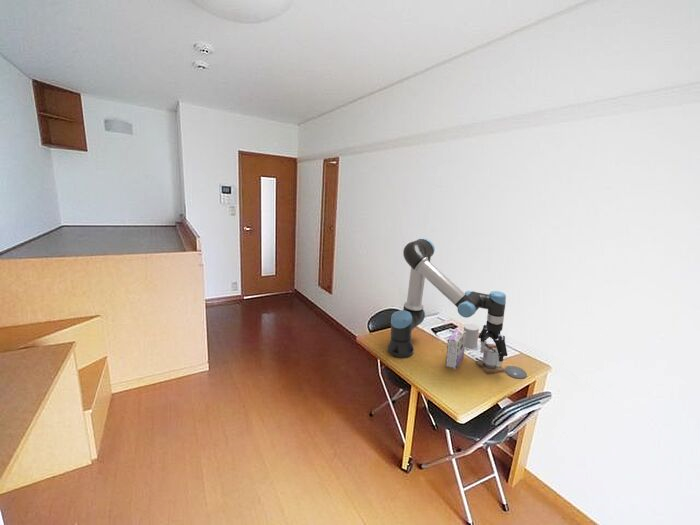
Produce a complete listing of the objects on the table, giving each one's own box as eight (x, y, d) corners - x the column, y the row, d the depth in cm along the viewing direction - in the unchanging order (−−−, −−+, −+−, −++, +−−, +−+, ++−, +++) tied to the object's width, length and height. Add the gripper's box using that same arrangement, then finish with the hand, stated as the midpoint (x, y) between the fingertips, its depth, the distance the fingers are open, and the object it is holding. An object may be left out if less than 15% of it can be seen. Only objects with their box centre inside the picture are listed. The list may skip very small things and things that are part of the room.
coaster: (500, 368, 161) (500, 367, 161) (516, 366, 163) (517, 364, 163) (513, 380, 152) (513, 378, 152) (531, 377, 154) (531, 376, 153)
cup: (470, 340, 189) (472, 323, 186) (479, 347, 182) (481, 328, 179) (459, 343, 187) (461, 325, 184) (468, 349, 180) (470, 331, 176)
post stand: (475, 363, 166) (477, 346, 163) (491, 361, 168) (493, 344, 165) (486, 374, 156) (489, 356, 154) (504, 371, 158) (506, 353, 156)
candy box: (453, 354, 175) (455, 328, 171) (463, 357, 171) (466, 331, 167) (445, 366, 164) (447, 338, 160) (456, 369, 161) (458, 341, 156)
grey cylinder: (479, 358, 164) (481, 343, 162) (491, 357, 165) (493, 341, 163) (488, 366, 157) (490, 350, 155) (501, 364, 158) (503, 349, 156)
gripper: (473, 312, 166) (470, 347, 172) (504, 333, 143) (499, 373, 148) (486, 311, 168) (482, 346, 173) (518, 331, 144) (513, 371, 150)
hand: (490, 358), depth 161 cm, fingers open, 12 cm apart
